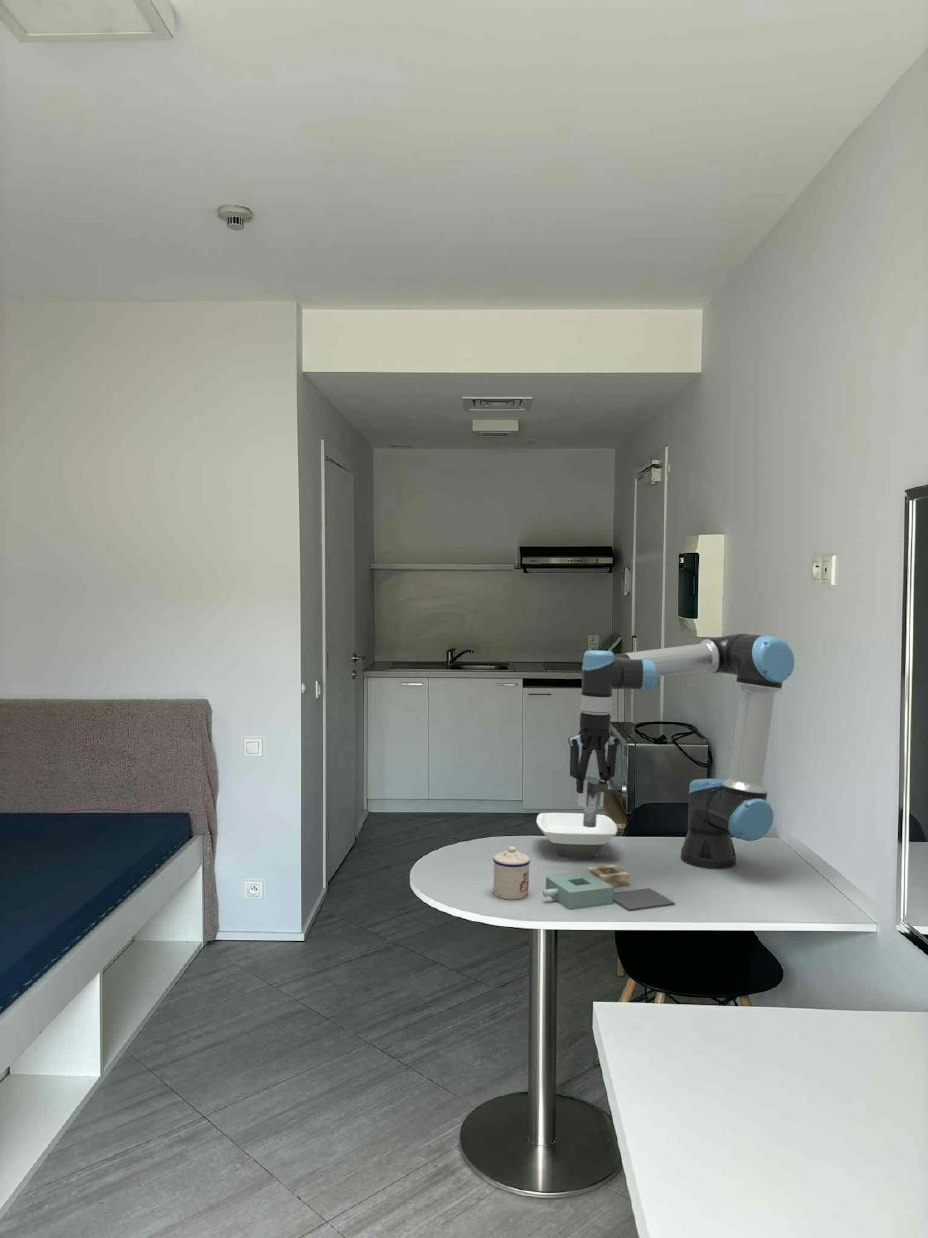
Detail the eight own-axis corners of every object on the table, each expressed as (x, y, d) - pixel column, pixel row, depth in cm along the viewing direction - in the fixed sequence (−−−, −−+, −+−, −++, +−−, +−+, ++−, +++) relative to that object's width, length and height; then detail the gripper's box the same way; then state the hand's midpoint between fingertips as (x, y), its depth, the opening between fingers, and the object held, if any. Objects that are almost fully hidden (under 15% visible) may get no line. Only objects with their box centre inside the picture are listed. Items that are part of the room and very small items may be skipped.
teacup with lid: (527, 902, 214) (528, 854, 213) (490, 899, 215) (491, 851, 215) (531, 885, 226) (533, 840, 225) (496, 882, 227) (497, 837, 227)
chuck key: (587, 820, 227) (590, 776, 226) (605, 830, 218) (608, 783, 218) (573, 821, 225) (576, 776, 225) (591, 831, 217) (593, 784, 217)
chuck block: (587, 887, 225) (588, 872, 225) (612, 903, 214) (613, 887, 214) (533, 894, 219) (533, 878, 219) (555, 911, 208) (556, 894, 208)
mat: (649, 890, 224) (649, 888, 224) (674, 905, 214) (675, 903, 214) (604, 895, 220) (604, 893, 220) (628, 911, 209) (628, 909, 209)
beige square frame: (612, 875, 235) (613, 864, 235) (629, 885, 227) (629, 874, 227) (586, 878, 232) (586, 867, 232) (602, 888, 224) (602, 877, 224)
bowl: (621, 865, 244) (622, 834, 244) (538, 862, 245) (539, 832, 244) (609, 841, 267) (610, 814, 266) (533, 839, 267) (534, 812, 266)
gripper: (617, 710, 227) (612, 800, 228) (558, 710, 221) (553, 803, 222) (633, 714, 220) (628, 807, 221) (572, 714, 214) (567, 810, 215)
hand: (590, 805), depth 222 cm, fingers closed on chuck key, 4 cm apart
